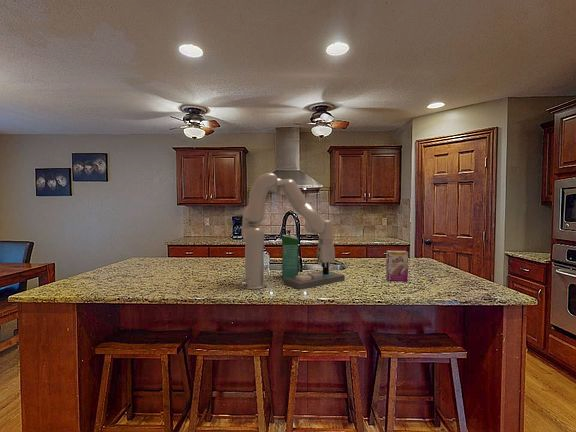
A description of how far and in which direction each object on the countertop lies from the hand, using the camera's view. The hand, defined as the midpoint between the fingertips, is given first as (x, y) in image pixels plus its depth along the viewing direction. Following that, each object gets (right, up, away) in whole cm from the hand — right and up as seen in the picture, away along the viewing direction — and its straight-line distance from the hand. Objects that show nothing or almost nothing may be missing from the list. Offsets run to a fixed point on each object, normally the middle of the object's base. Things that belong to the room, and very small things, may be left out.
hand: (325, 274), depth 179 cm
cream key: (-13, -2, -10) cm, 16 cm away
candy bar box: (+40, -4, 0) cm, 40 cm away
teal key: (0, -3, 0) cm, 3 cm away
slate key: (-7, -2, -5) cm, 8 cm away
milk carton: (-20, -3, +7) cm, 21 cm away
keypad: (-7, -4, -5) cm, 9 cm away
